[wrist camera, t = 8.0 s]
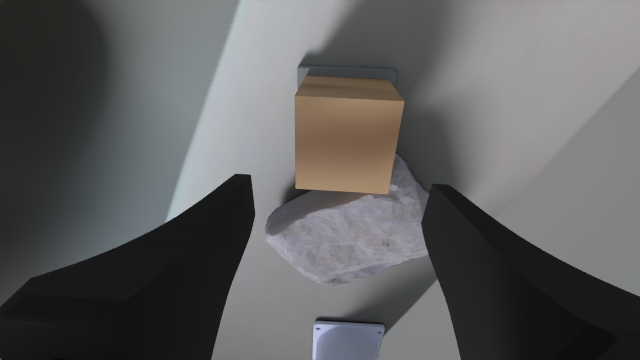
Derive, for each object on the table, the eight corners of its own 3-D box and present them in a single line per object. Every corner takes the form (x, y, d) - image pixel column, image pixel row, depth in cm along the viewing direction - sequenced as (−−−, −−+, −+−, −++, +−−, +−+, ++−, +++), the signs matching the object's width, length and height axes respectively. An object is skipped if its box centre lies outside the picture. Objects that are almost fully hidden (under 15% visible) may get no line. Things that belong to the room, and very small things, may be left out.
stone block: (439, 205, 25) (392, 134, 19) (460, 255, 22) (413, 191, 16) (326, 249, 30) (258, 204, 24) (330, 296, 27) (253, 259, 20)
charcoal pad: (381, 154, 21) (382, 159, 21) (299, 150, 21) (298, 156, 21) (395, 68, 18) (398, 71, 17) (298, 64, 18) (297, 67, 17)
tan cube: (377, 155, 20) (387, 194, 16) (305, 150, 20) (295, 188, 16) (388, 79, 17) (404, 101, 13) (305, 75, 18) (294, 95, 13)
